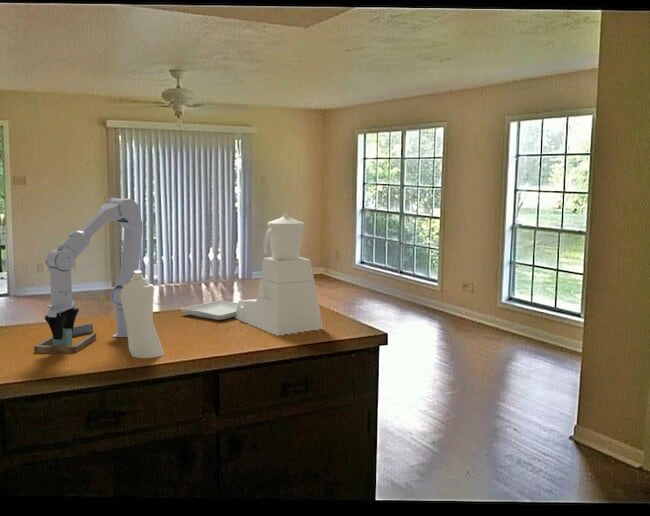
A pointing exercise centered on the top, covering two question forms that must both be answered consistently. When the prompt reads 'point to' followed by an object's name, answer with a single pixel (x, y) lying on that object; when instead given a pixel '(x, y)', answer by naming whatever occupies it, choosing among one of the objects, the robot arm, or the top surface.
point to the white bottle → (140, 317)
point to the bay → (47, 348)
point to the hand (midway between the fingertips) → (63, 335)
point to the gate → (82, 329)
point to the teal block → (64, 339)
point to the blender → (283, 285)
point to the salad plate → (213, 310)
